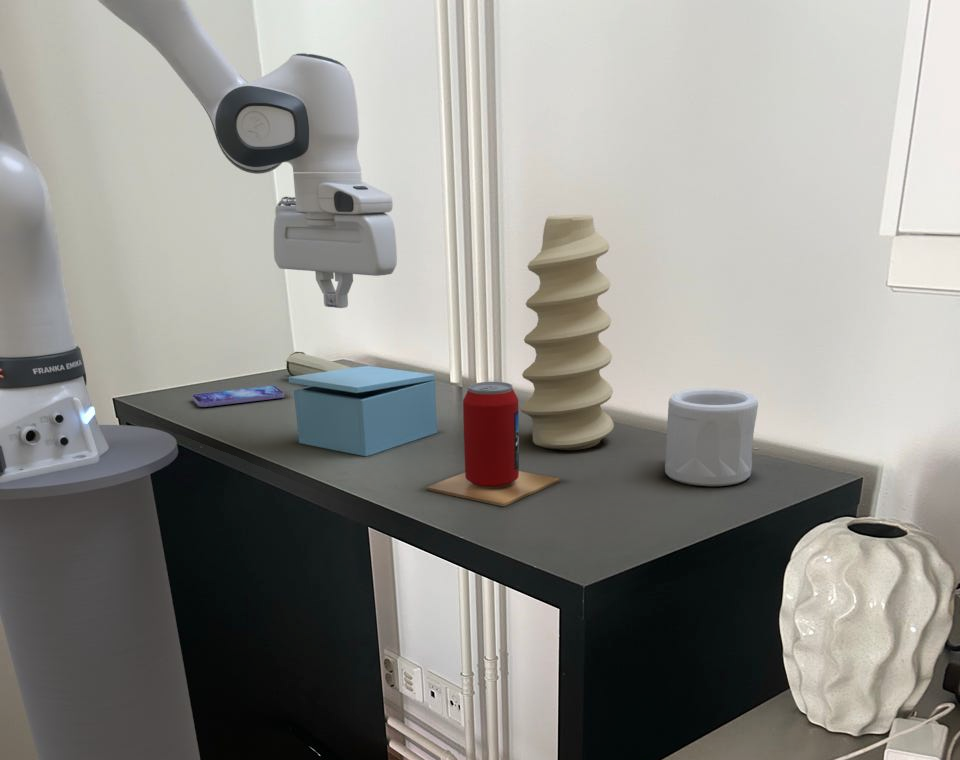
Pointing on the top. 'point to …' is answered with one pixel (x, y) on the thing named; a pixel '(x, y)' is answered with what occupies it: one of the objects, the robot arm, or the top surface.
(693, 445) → the mug
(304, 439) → the box
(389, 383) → the lid
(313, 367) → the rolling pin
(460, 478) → the cork mat
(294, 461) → the top surface
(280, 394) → the smartphone
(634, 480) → the top surface
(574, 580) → the top surface
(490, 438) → the beverage can
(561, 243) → the decorative object
